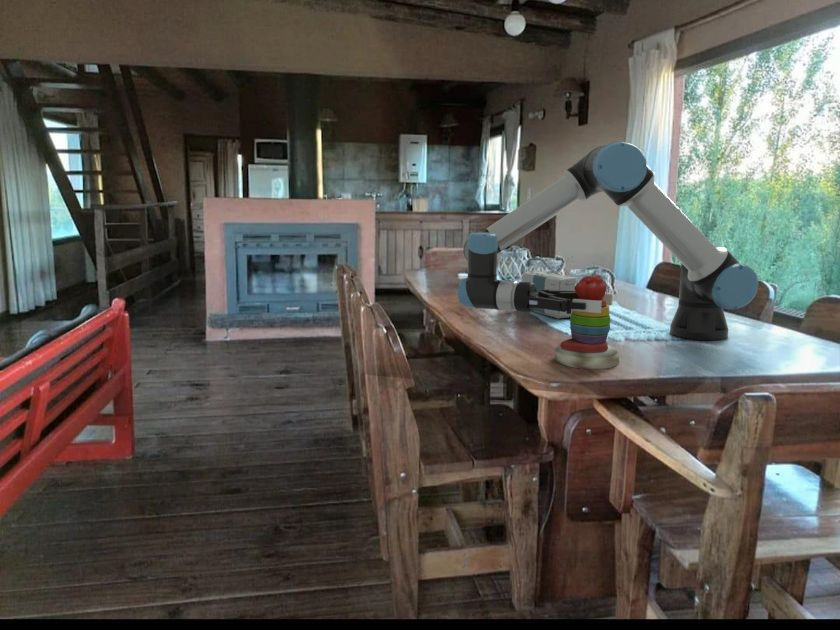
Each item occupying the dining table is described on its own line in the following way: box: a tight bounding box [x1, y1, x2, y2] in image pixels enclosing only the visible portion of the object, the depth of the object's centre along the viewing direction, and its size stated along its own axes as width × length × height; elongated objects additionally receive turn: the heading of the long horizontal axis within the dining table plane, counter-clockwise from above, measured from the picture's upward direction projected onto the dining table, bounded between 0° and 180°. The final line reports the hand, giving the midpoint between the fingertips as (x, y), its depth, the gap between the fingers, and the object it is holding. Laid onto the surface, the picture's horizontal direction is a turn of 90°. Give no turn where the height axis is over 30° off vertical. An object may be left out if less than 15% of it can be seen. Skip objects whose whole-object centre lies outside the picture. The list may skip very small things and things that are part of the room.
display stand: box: [554, 344, 620, 370], centre depth 155 cm, size 15×15×3 cm
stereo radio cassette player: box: [521, 255, 578, 320], centre depth 213 cm, size 21×8×20 cm, turn 24°
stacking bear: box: [559, 274, 611, 353], centre depth 153 cm, size 11×10×18 cm
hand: (606, 303), depth 151 cm, fingers open, 11 cm apart
